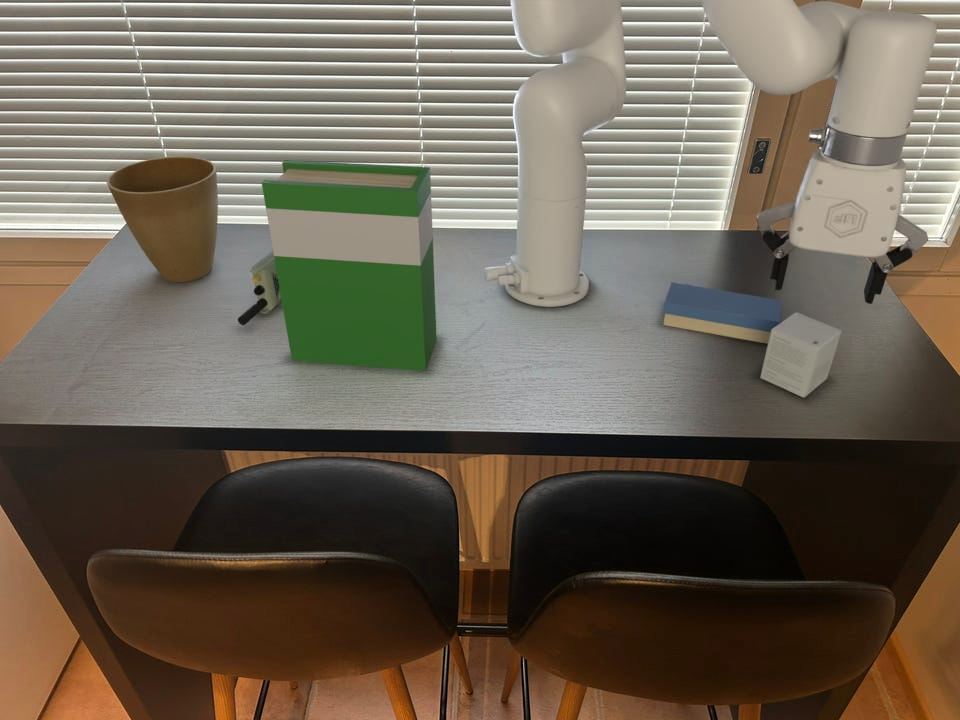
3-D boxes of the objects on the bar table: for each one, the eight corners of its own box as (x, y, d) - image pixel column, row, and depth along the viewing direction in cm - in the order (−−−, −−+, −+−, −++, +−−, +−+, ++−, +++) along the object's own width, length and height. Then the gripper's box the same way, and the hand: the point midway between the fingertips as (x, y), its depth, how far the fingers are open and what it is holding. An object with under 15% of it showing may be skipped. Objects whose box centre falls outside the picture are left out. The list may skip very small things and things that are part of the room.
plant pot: (248, 251, 124) (230, 156, 115) (214, 297, 112) (191, 194, 102) (160, 248, 125) (136, 153, 116) (117, 292, 113) (85, 190, 103)
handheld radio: (339, 253, 123) (254, 331, 104) (321, 251, 124) (233, 328, 105) (333, 215, 119) (243, 288, 100) (315, 213, 120) (222, 285, 101)
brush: (660, 325, 105) (664, 302, 103) (667, 305, 110) (671, 281, 108) (774, 346, 101) (780, 321, 99) (776, 323, 105) (782, 300, 103)
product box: (828, 379, 95) (844, 330, 90) (803, 399, 91) (819, 349, 87) (783, 359, 98) (796, 310, 94) (757, 377, 95) (770, 328, 91)
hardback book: (291, 360, 98) (261, 183, 84) (310, 330, 104) (284, 160, 90) (425, 371, 96) (416, 191, 82) (436, 339, 102) (430, 167, 88)
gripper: (771, 147, 77) (741, 294, 87) (962, 165, 72) (908, 319, 82) (774, 126, 83) (746, 266, 93) (951, 142, 78) (901, 288, 88)
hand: (822, 291), depth 87 cm, fingers open, 9 cm apart
